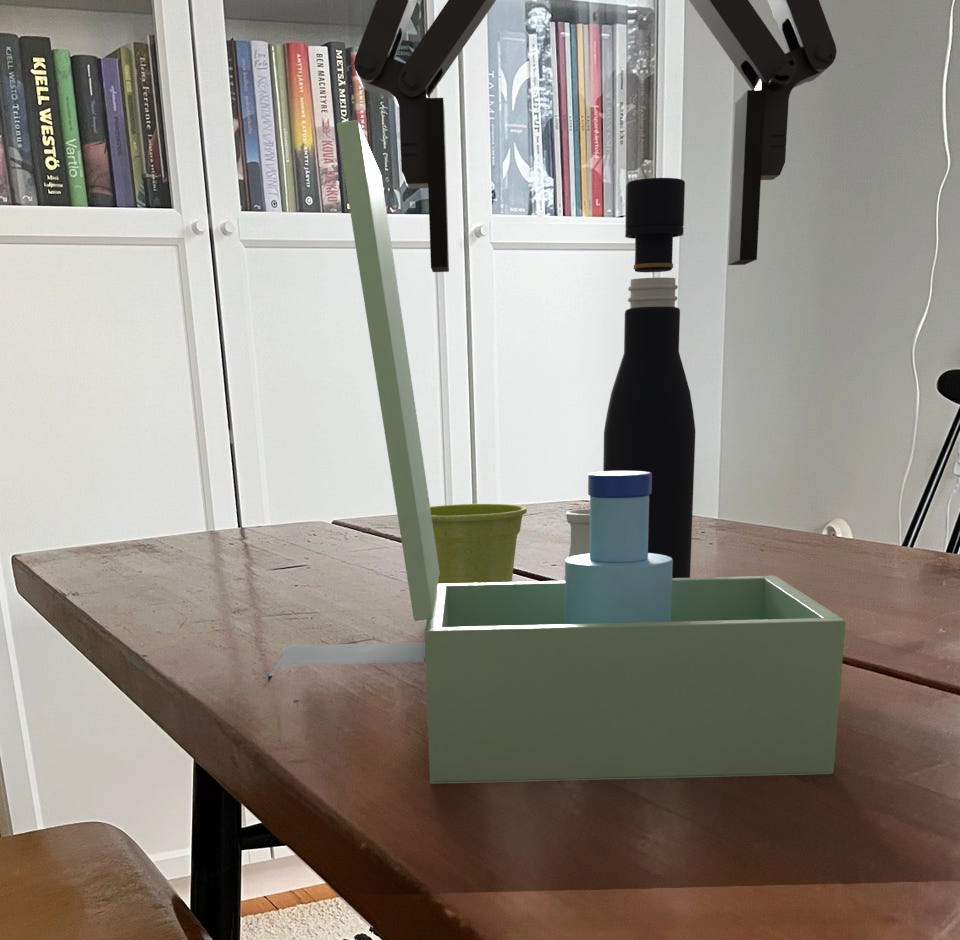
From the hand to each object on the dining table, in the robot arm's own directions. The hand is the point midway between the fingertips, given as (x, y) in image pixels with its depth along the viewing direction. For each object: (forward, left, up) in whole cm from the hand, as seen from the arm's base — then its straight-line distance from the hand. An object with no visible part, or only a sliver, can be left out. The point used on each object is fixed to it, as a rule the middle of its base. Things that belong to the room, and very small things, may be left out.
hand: (591, 267), depth 57 cm
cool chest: (-1, 0, -23) cm, 23 cm away
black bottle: (-7, -31, -23) cm, 39 cm away
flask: (-2, -21, -23) cm, 31 cm away
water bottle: (-1, 0, -22) cm, 22 cm away
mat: (+14, -23, -23) cm, 35 cm away
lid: (+9, 0, -5) cm, 10 cm away
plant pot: (+6, -39, -23) cm, 45 cm away
